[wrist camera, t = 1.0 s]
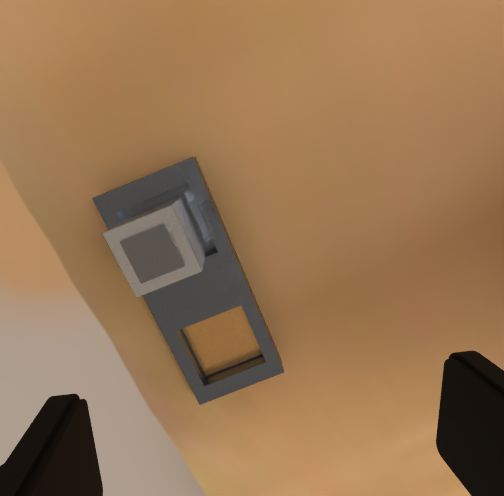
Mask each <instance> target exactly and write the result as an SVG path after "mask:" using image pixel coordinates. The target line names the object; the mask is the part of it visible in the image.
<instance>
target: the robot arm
mask: <svg viewBox="0 0 504 496" xmlns="http://www.w3.org/2000/svg"><path fill="white" fill-rule="evenodd" d="M436 445H437V449H438V451H439V454H440V455H441V457H442V458H443V460H444V461H445V462H446V464H447V465H448V466H449V467H450V469H451V470H452V471H453V472H454V474H455V475H456V476H457V478H458V479H459V480H460V481H461V483H462V484H463V485H464V487H465V488H466V489H467V490H468V492H469V493H470V494H471V496H504V371H503V370H502V369H500V368H499V367H498V366H496V365H495V364H493V363H492V362H491V361H489V360H488V359H487V358H485V357H484V356H482V355H481V354H480V353H478V352H476V351H466V352H456V353H452V354H451V355H450V356H449V359H447V360H446V361H445V363H444V371H443V380H442V390H441V399H440V409H439V419H438V428H437V438H436ZM0 496H103V487H102V481H101V476H100V470H99V465H98V459H97V454H96V448H95V443H94V437H93V432H92V427H91V422H90V416H89V411H88V405H87V402H86V400H85V399H79V396H78V395H77V394H69V395H59V396H52V397H50V398H49V399H48V400H47V401H46V403H45V404H44V406H43V407H42V409H41V410H40V412H39V413H38V415H37V416H36V418H35V419H34V420H33V422H32V423H31V425H30V427H29V428H28V429H27V431H26V432H25V434H24V435H23V437H22V438H21V440H20V441H19V443H18V444H17V446H16V447H15V449H14V450H13V452H12V453H11V455H10V456H9V458H8V459H7V461H6V462H5V463H4V464H3V465H1V466H0Z"/></svg>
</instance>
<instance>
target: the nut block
mask: <svg viewBox="0 0 504 496" xmlns="http://www.w3.org/2000/svg"><path fill="white" fill-rule="evenodd" d="M102 234H103V235H104V237H105V239H106V241H107V243H108V245H109V247H110V249H111V251H112V253H113V254H114V256H115V258H116V260H117V262H118V264H119V266H120V268H121V270H122V272H123V273H124V275H125V277H126V279H127V281H128V283H129V285H130V287H131V289H132V291H133V292H134V294H135V296H136V298H137V297H139V296H142V295H144V294H147V293H149V292H152V291H154V290H157V289H159V288H162V287H164V286H167V285H169V284H172V283H174V282H177V281H179V280H182V279H184V278H187V277H189V276H192V275H194V274H197V273H199V272H202V269H203V264H204V259H205V254H206V249H207V241H206V239H205V237H204V235H203V232H202V230H201V228H200V226H199V223H198V221H197V219H196V217H195V214H194V212H193V210H192V208H191V205H190V203H189V201H188V198H187V196H186V194H185V193H184V194H181V195H179V196H176V197H174V198H171V199H169V200H166V201H164V202H161V203H159V204H157V205H154V206H152V207H149V208H147V209H144V210H142V211H139V212H137V213H134V214H132V215H131V216H129V217H128V218H126V219H124V220H123V221H121V222H120V223H118V224H117V225H115V226H113V227H112V228H110V229H109V230H107V231H105V232H104V233H102Z"/></svg>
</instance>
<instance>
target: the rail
mask: <svg viewBox="0 0 504 496" xmlns="http://www.w3.org/2000/svg"><path fill="white" fill-rule="evenodd" d="M184 193H185V194H186V196H187V198H188V201H189V203H190V205H191V208H192V210H193V212H194V214H195V217H196V219H197V221H198V223H199V226H200V228H201V230H202V232H203V235H204V237H205V239H206V241H207V249H206V254H205V259H204V264H203V269H202V272H199V273H197V274H194V275H192V276H189V277H187V278H184V279H182V280H179V281H177V282H174V283H172V284H169V285H167V286H164V287H162V288H159V289H157V290H154V291H152V292H149V293H147V294H144V295H143V297H144V299H145V301H146V302H147V304H148V306H149V308H150V310H151V312H152V314H153V316H154V318H155V320H156V322H157V324H158V326H159V327H160V329H161V331H162V333H163V335H164V337H165V339H166V341H167V343H168V345H169V347H170V349H171V351H172V352H173V354H174V356H175V358H176V360H177V362H178V364H179V366H180V368H181V370H182V372H183V374H184V376H185V377H186V379H187V381H188V383H189V385H190V387H191V389H192V391H193V393H194V395H195V397H196V399H197V401H198V402H199V404H200V405H201V404H203V403H206V402H208V401H211V400H214V399H216V398H219V397H221V396H224V395H227V394H229V393H232V392H234V391H237V390H239V389H242V388H245V387H247V386H250V385H252V384H255V383H257V382H260V381H263V380H265V379H268V378H270V377H273V376H276V375H278V374H281V373H283V372H284V369H283V365H282V362H281V358H280V356H279V353H278V351H277V349H276V346H275V344H274V342H273V339H272V337H271V334H270V332H269V330H268V327H267V325H266V323H265V320H264V318H263V316H262V313H261V311H260V308H259V306H258V304H257V301H256V299H255V297H254V294H253V292H252V290H251V287H250V285H249V282H248V280H247V278H246V275H245V273H244V271H243V268H242V266H241V264H240V261H239V259H238V256H237V254H236V252H235V249H234V247H233V245H232V242H231V240H230V238H229V235H228V233H227V231H226V228H225V226H224V223H223V221H222V219H221V216H220V214H219V212H218V209H217V207H216V205H215V202H214V200H213V197H212V195H211V193H210V190H209V188H208V186H207V183H206V181H205V179H204V176H203V174H202V171H201V169H200V167H199V164H198V162H197V160H196V157H192V158H190V159H187V160H185V161H182V162H180V163H177V164H175V165H173V166H170V167H168V168H165V169H163V170H160V171H158V172H155V173H153V174H151V175H148V176H146V177H143V178H141V179H138V180H136V181H133V182H131V183H129V184H126V185H124V186H121V187H119V188H116V189H114V190H111V191H109V192H107V193H104V194H102V195H99V196H97V197H94V198H92V199H93V200H94V202H95V204H96V206H97V208H98V210H99V212H100V214H101V216H102V218H103V220H104V222H105V224H106V225H107V227H108V229H110V228H112V227H113V226H115V225H117V224H118V223H120V222H121V221H123V220H124V219H126V218H128V217H129V216H131V215H132V214H134V213H137V212H139V211H142V210H144V209H147V208H149V207H152V206H154V205H157V204H159V203H161V202H164V201H166V200H169V199H171V198H174V197H176V196H179V195H181V194H184Z"/></svg>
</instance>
